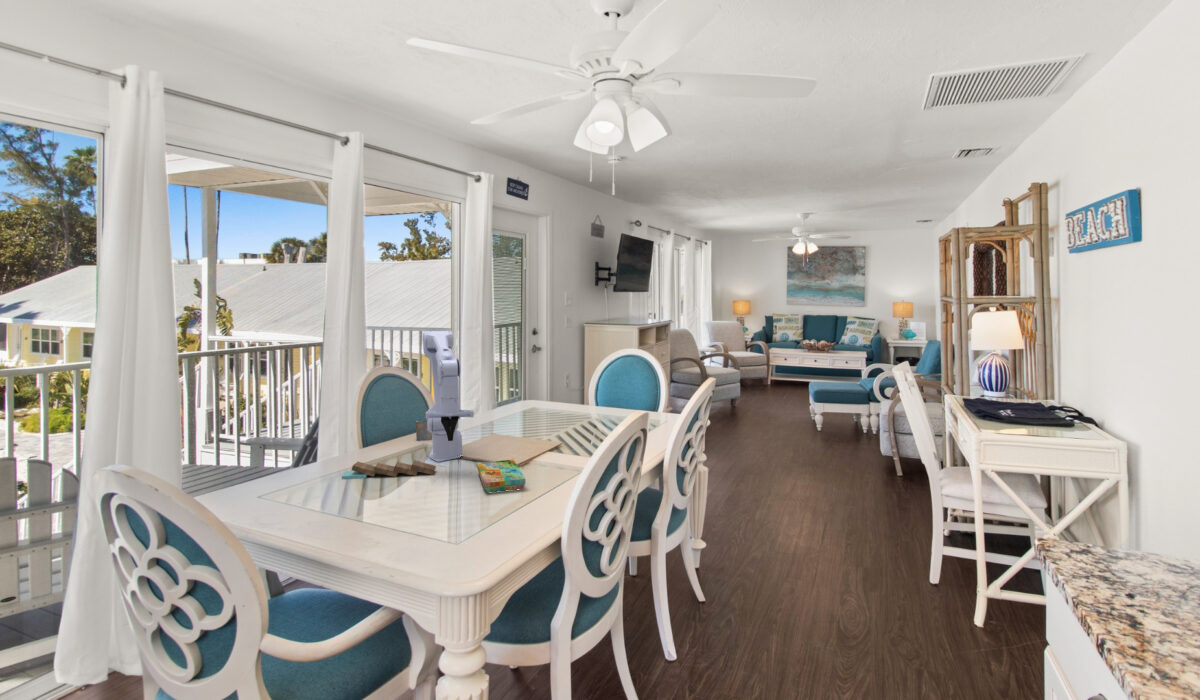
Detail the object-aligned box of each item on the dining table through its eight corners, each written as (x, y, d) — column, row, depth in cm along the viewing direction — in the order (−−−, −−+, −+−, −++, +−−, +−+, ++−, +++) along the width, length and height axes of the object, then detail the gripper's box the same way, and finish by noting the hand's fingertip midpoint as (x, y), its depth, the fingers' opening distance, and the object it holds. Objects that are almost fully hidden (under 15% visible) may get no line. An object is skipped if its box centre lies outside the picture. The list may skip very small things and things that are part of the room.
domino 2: (379, 467, 184) (357, 461, 184) (375, 471, 180) (352, 465, 179) (378, 472, 184) (356, 466, 184) (373, 476, 180) (351, 470, 179)
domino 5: (436, 466, 187) (414, 460, 185) (434, 470, 182) (412, 464, 181) (434, 470, 187) (412, 464, 185) (432, 475, 182) (410, 469, 181)
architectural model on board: (447, 438, 228) (447, 414, 227) (447, 440, 225) (446, 415, 224) (417, 439, 226) (416, 415, 225) (416, 441, 223) (415, 416, 222)
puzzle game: (484, 479, 165) (476, 460, 183) (484, 496, 165) (476, 474, 184) (525, 475, 168) (513, 456, 187) (525, 491, 169) (513, 471, 188)
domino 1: (369, 470, 183) (345, 471, 182) (365, 475, 179) (341, 476, 178) (369, 475, 184) (346, 476, 183) (365, 480, 179) (341, 481, 178)
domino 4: (419, 466, 186) (397, 461, 184) (417, 471, 181) (394, 466, 180) (418, 471, 186) (396, 466, 185) (416, 475, 181) (393, 470, 180)
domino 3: (400, 467, 185) (378, 462, 183) (397, 472, 180) (374, 466, 179) (399, 472, 185) (376, 467, 184) (396, 477, 180) (373, 471, 179)
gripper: (423, 400, 177) (425, 444, 179) (472, 399, 180) (473, 442, 181) (426, 396, 184) (428, 438, 186) (473, 395, 187) (474, 436, 188)
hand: (450, 440), depth 184 cm, fingers closed
